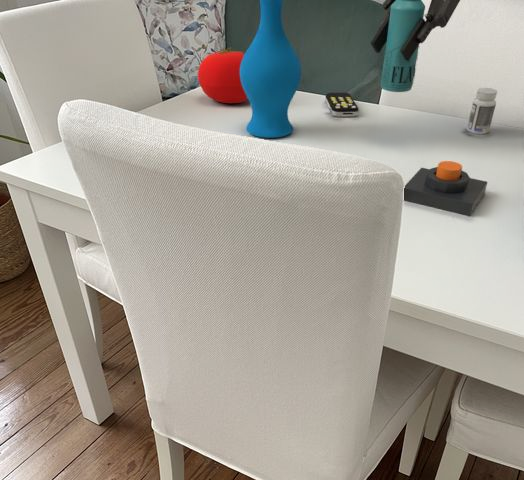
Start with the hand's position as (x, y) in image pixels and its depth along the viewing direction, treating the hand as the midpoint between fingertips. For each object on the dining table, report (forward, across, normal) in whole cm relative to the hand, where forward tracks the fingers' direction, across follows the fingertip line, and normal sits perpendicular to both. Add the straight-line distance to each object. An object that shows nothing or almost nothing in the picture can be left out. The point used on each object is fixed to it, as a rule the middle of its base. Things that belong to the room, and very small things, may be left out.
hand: (389, 51), depth 106 cm
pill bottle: (-4, -8, -30) cm, 31 cm away
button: (+16, -23, -4) cm, 29 cm away
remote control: (+5, +21, -20) cm, 30 cm away
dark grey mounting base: (+19, -23, -7) cm, 31 cm away
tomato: (+17, +43, -8) cm, 47 cm away
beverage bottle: (+4, 0, -9) cm, 9 cm away
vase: (+21, +20, -4) cm, 30 cm away
